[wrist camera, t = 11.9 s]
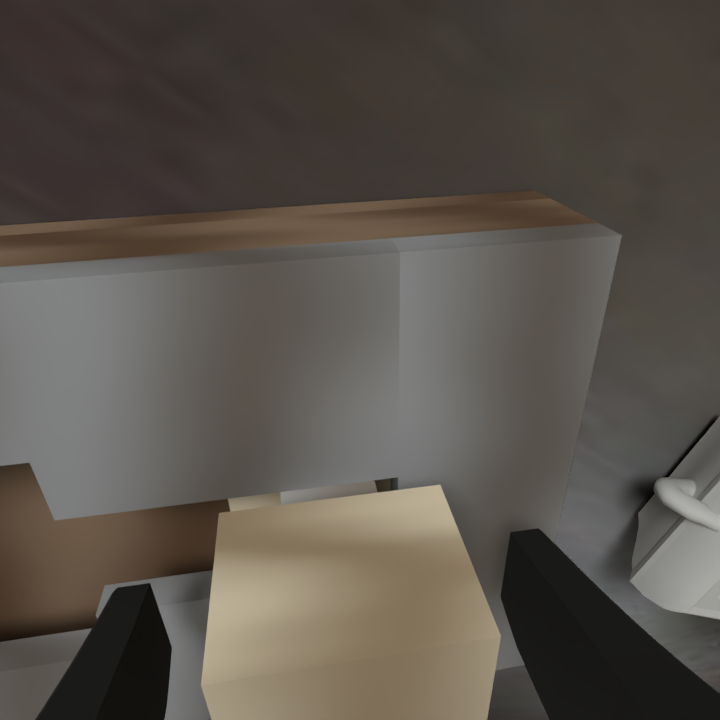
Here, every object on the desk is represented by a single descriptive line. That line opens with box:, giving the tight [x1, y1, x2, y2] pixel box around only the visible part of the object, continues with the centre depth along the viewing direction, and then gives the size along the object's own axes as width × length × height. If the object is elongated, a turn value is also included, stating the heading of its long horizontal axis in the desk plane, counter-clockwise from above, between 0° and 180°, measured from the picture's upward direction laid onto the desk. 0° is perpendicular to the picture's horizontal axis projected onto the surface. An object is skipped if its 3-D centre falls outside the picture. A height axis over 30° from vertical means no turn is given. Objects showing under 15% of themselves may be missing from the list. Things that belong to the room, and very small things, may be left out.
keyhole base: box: [0, 191, 622, 720], centre depth 13 cm, size 18×13×4 cm
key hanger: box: [201, 478, 501, 720], centre depth 11 cm, size 5×5×7 cm
